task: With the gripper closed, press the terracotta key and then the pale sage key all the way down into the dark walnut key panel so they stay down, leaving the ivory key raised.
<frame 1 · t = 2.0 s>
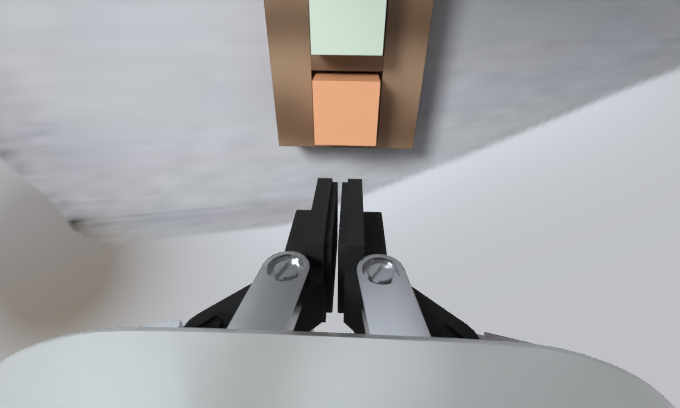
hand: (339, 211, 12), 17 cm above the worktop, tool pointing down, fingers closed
terracotta key: (346, 109, 23), point 4 cm above the worktop, slide at 0.0 cm
key panel: (348, 10, 23), on the worktop
sage key: (347, 12, 20), point 4 cm above the worktop, slide at 0.0 cm
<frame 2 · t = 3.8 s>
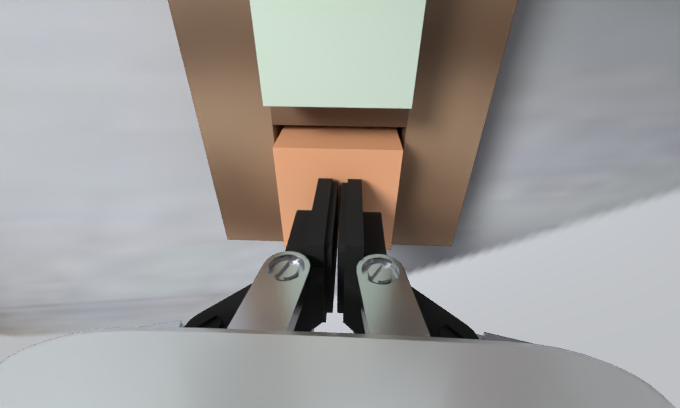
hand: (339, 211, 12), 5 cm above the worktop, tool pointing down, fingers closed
terracotta key: (338, 184, 13), point 3 cm above the worktop, slide at 0.5 cm, touching gripper
key panel: (342, 13, 13), on the worktop
sage key: (339, 18, 10), point 3 cm above the worktop, slide at 0.0 cm
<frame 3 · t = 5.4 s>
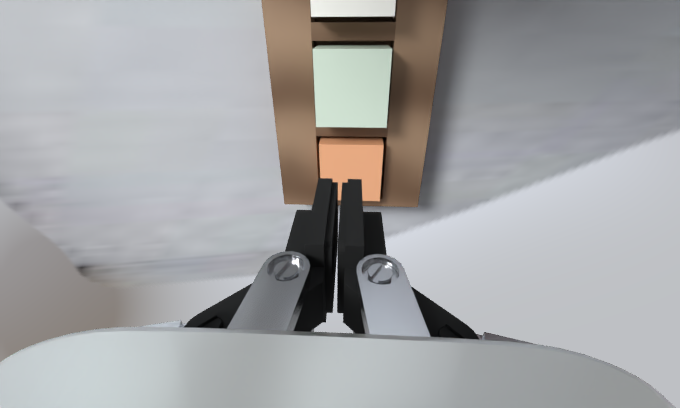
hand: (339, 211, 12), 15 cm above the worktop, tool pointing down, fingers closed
terracotta key: (351, 165, 25), point 2 cm above the worktop, slide at 1.1 cm
key panel: (352, 76, 23), on the worktop
sage key: (352, 85, 20), point 4 cm above the worktop, slide at 0.0 cm
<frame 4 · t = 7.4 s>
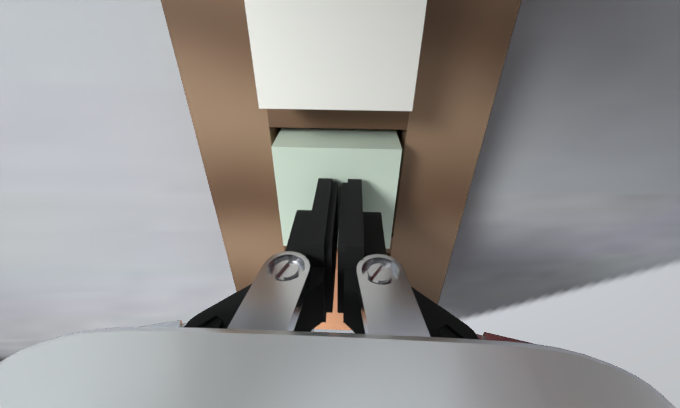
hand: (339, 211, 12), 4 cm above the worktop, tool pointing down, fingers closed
terracotta key: (337, 279, 17), point 2 cm above the worktop, slide at 1.1 cm
key panel: (340, 157, 16), on the worktop
ivory key: (337, 17, 9), point 3 cm above the worktop, slide at 0.0 cm
sage key: (337, 183, 13), point 3 cm above the worktop, slide at 0.9 cm, touching gripper
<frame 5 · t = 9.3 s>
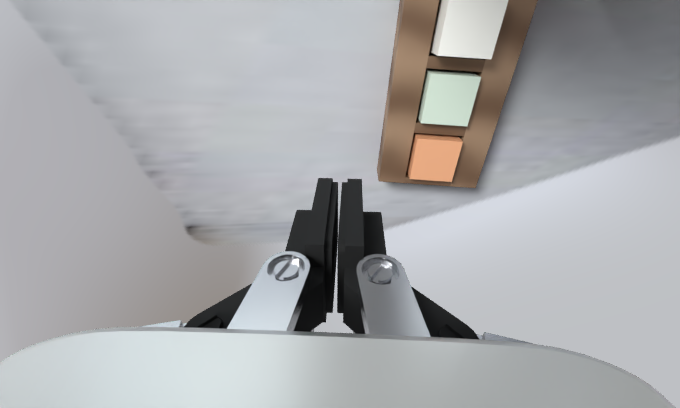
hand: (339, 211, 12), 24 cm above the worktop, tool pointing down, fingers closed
terracotta key: (432, 155, 34), point 2 cm above the worktop, slide at 1.1 cm
key panel: (440, 91, 33), on the worktop
ivory key: (466, 25, 27), point 3 cm above the worktop, slide at 0.0 cm
sage key: (445, 97, 31), point 2 cm above the worktop, slide at 1.1 cm
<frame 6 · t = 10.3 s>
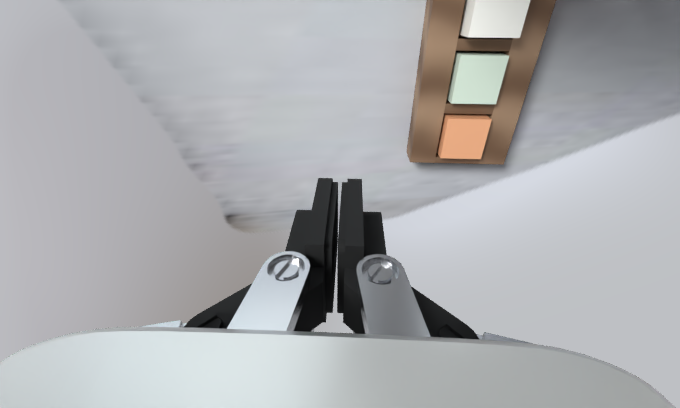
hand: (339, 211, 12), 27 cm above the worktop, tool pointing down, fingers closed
terracotta key: (461, 134, 36), point 2 cm above the worktop, slide at 1.1 cm
key panel: (467, 73, 34), on the worktop
ivory key: (494, 7, 28), point 3 cm above the worktop, slide at 0.0 cm
sage key: (474, 77, 32), point 2 cm above the worktop, slide at 1.1 cm
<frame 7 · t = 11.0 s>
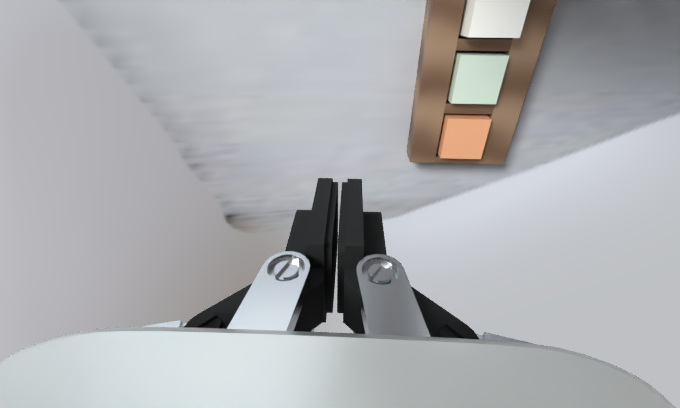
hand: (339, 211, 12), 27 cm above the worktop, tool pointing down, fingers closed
terracotta key: (461, 134, 36), point 2 cm above the worktop, slide at 1.1 cm
key panel: (467, 73, 34), on the worktop
ivory key: (494, 7, 28), point 3 cm above the worktop, slide at 0.0 cm
sage key: (474, 77, 32), point 2 cm above the worktop, slide at 1.1 cm
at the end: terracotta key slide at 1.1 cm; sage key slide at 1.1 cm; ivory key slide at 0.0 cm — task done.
